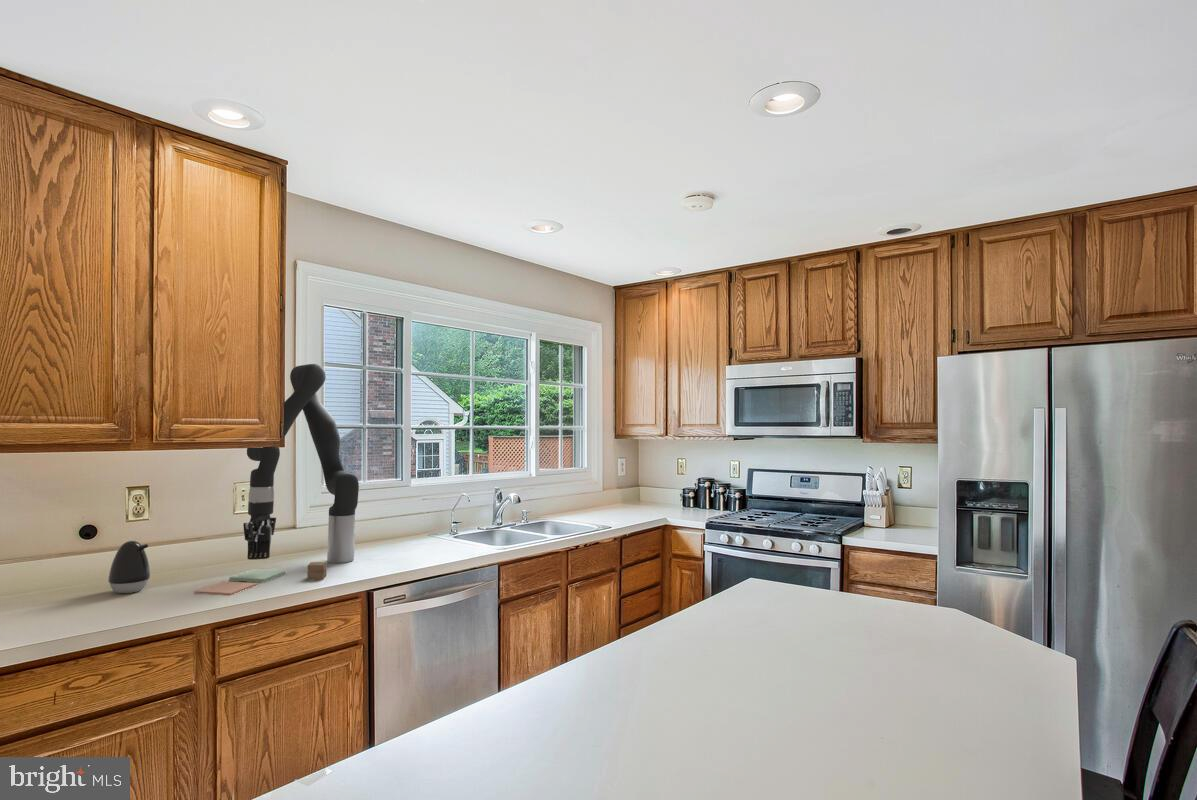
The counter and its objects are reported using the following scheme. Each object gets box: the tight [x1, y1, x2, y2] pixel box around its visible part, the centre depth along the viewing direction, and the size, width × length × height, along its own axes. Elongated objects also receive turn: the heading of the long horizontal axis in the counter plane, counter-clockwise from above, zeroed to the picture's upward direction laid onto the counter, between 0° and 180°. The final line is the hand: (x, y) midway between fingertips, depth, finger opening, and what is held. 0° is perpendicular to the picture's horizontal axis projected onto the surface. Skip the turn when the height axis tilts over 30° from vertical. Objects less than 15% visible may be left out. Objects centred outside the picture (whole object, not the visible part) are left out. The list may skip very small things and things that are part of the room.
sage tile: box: [228, 568, 287, 583], centre depth 213 cm, size 12×12×1 cm
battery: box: [246, 525, 272, 561], centre depth 213 cm, size 7×4×11 cm, turn 108°
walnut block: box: [306, 561, 328, 581], centre depth 214 cm, size 5×5×5 cm
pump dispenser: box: [107, 540, 151, 594], centre depth 194 cm, size 10×10×15 cm
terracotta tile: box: [194, 580, 259, 596], centre depth 198 cm, size 12×12×1 cm
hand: (259, 550), depth 213 cm, fingers closed on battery, 5 cm apart
